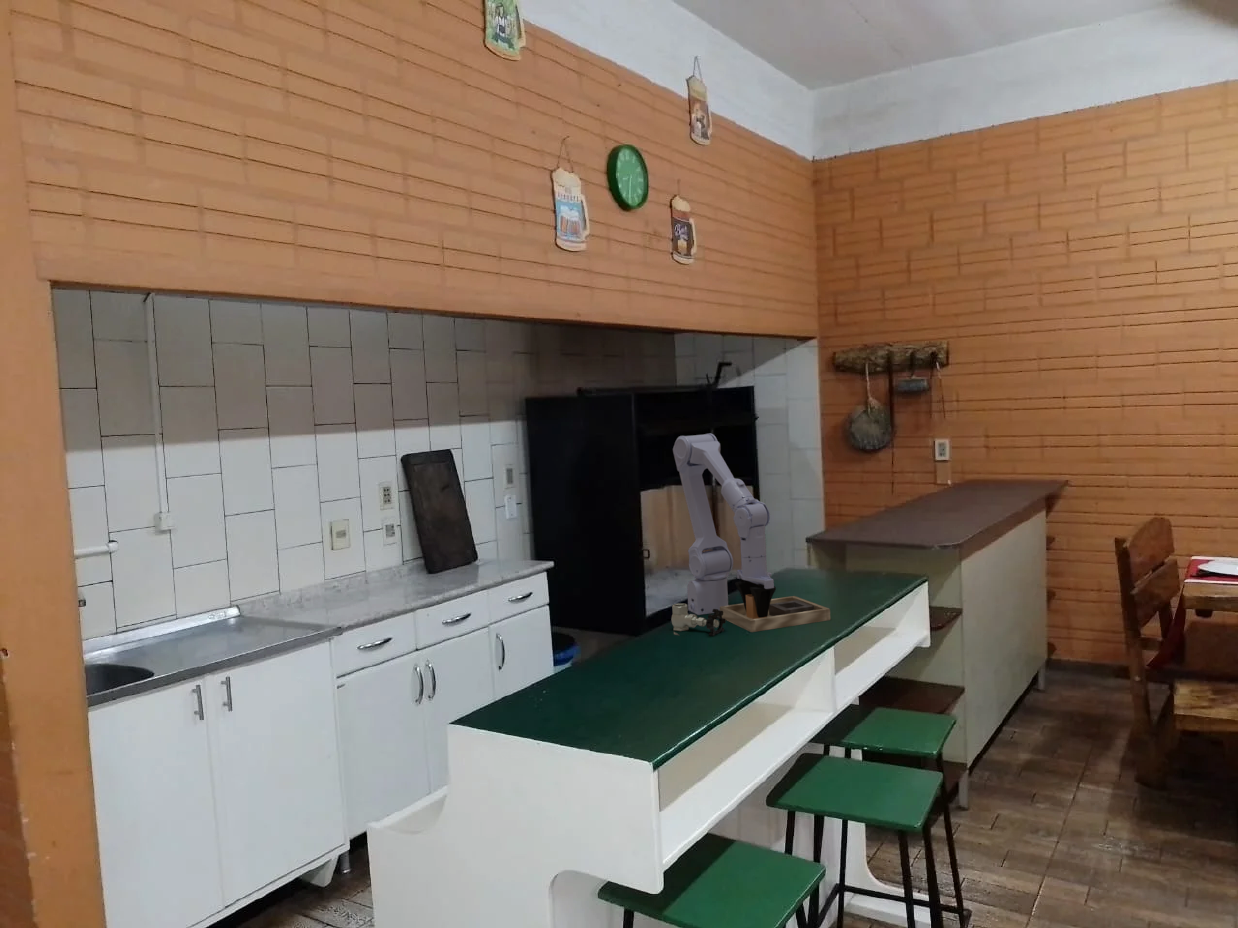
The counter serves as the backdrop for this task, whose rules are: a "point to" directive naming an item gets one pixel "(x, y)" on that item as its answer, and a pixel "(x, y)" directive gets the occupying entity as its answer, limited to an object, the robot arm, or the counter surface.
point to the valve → (695, 620)
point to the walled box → (777, 614)
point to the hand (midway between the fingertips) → (756, 614)
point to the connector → (751, 607)
